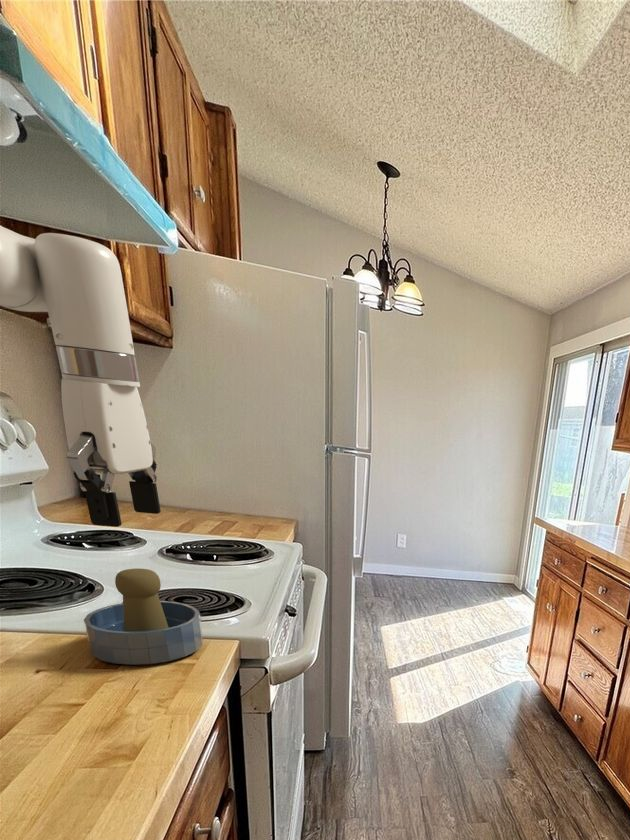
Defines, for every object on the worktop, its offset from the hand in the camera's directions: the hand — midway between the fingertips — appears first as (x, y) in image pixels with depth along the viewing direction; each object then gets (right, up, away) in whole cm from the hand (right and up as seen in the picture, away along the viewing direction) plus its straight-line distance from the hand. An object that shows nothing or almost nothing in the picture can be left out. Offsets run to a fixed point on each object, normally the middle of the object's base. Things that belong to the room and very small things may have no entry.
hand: (128, 518), depth 72 cm
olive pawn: (-2, -16, +8) cm, 18 cm away
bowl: (-2, -16, +8) cm, 18 cm away
